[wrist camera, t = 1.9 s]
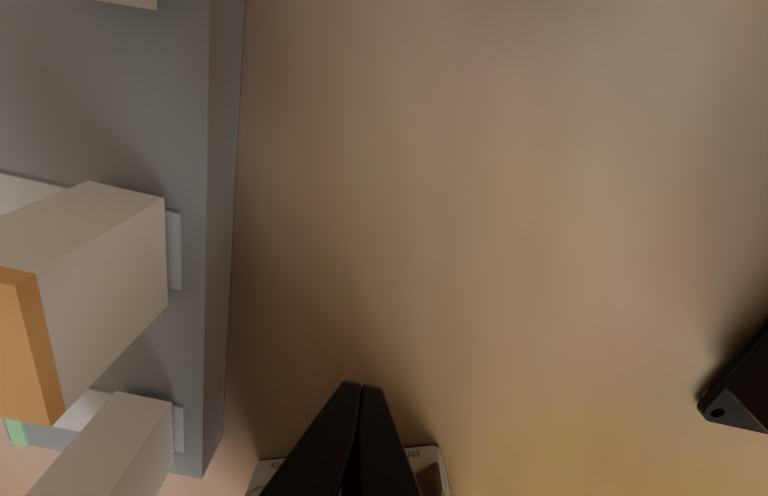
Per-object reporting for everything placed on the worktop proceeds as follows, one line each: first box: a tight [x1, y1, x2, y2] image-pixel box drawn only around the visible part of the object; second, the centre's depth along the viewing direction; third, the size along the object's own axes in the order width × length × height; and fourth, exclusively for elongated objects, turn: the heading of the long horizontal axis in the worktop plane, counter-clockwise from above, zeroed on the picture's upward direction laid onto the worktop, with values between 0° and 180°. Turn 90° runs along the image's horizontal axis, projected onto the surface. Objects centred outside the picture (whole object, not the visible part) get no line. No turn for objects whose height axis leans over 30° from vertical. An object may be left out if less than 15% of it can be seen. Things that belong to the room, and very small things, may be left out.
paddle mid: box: [0, 181, 168, 427], centre depth 9 cm, size 2×4×4 cm, turn 167°
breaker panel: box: [0, 0, 245, 479], centre depth 12 cm, size 8×22×2 cm, turn 167°
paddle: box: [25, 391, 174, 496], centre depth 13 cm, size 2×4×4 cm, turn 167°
